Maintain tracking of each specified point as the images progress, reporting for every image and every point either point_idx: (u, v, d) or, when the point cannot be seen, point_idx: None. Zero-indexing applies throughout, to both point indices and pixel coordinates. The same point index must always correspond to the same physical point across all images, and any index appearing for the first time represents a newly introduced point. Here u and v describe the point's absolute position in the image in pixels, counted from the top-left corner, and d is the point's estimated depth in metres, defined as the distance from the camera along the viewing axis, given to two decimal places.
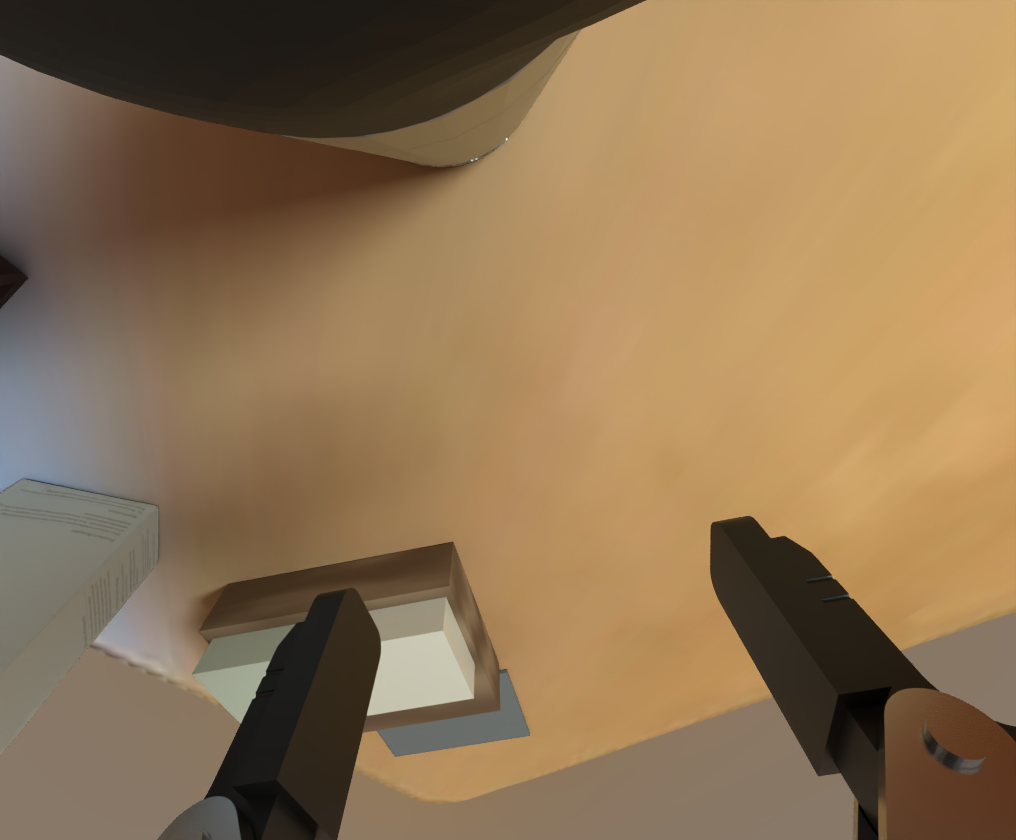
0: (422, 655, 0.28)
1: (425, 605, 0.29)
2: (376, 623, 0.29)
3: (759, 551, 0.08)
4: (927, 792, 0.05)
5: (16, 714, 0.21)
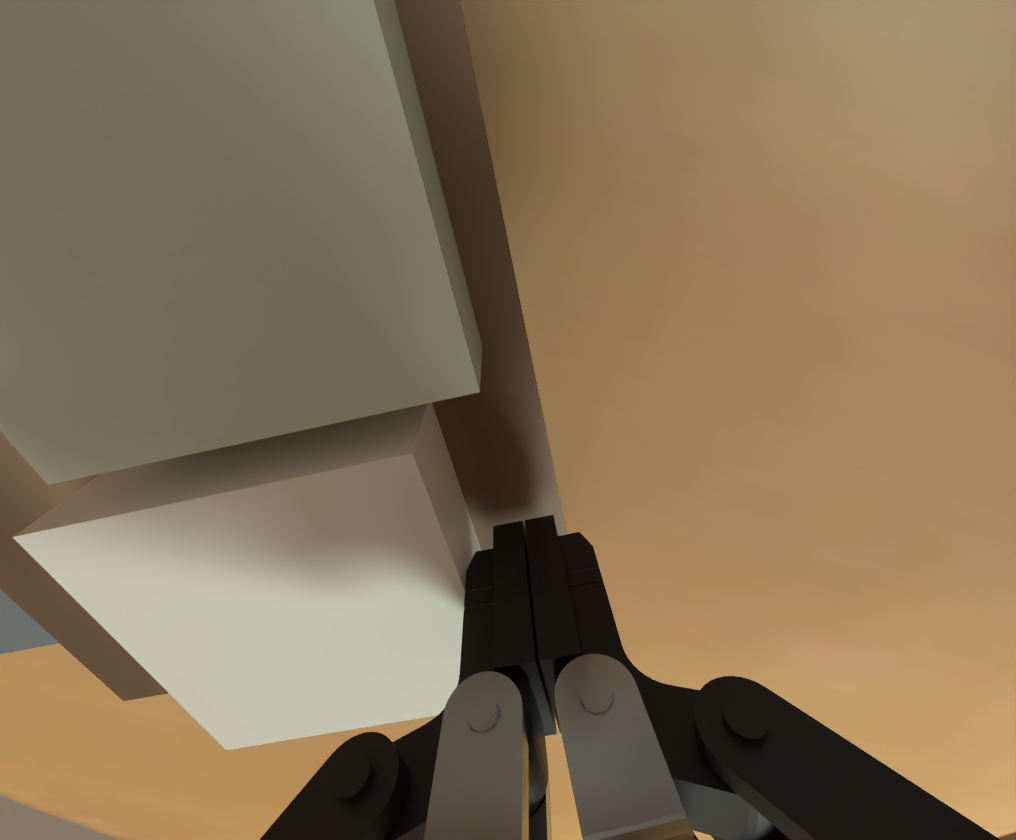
0: (407, 671, 0.11)
1: None
2: (464, 535, 0.10)
3: (543, 545, 0.09)
4: (592, 752, 0.06)
5: None
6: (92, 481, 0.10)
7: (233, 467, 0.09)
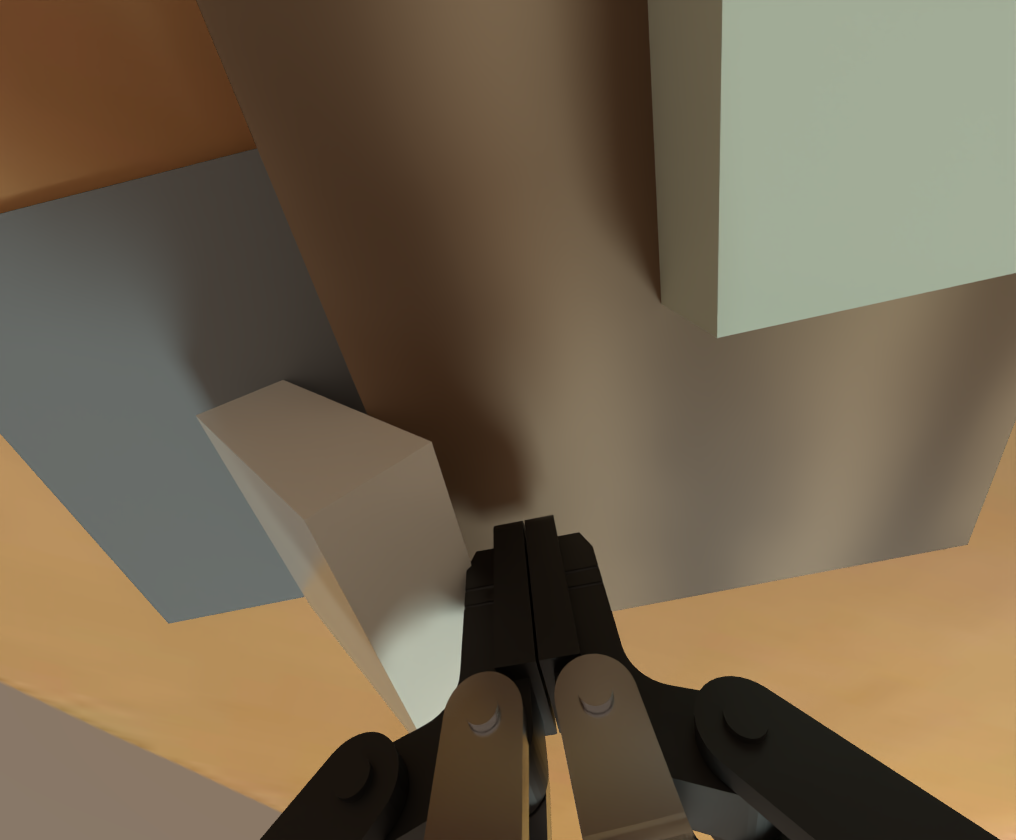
0: (369, 670, 0.11)
1: None
2: (432, 601, 0.09)
3: (543, 545, 0.09)
4: (591, 752, 0.06)
5: None
6: (260, 389, 0.13)
7: (278, 431, 0.10)
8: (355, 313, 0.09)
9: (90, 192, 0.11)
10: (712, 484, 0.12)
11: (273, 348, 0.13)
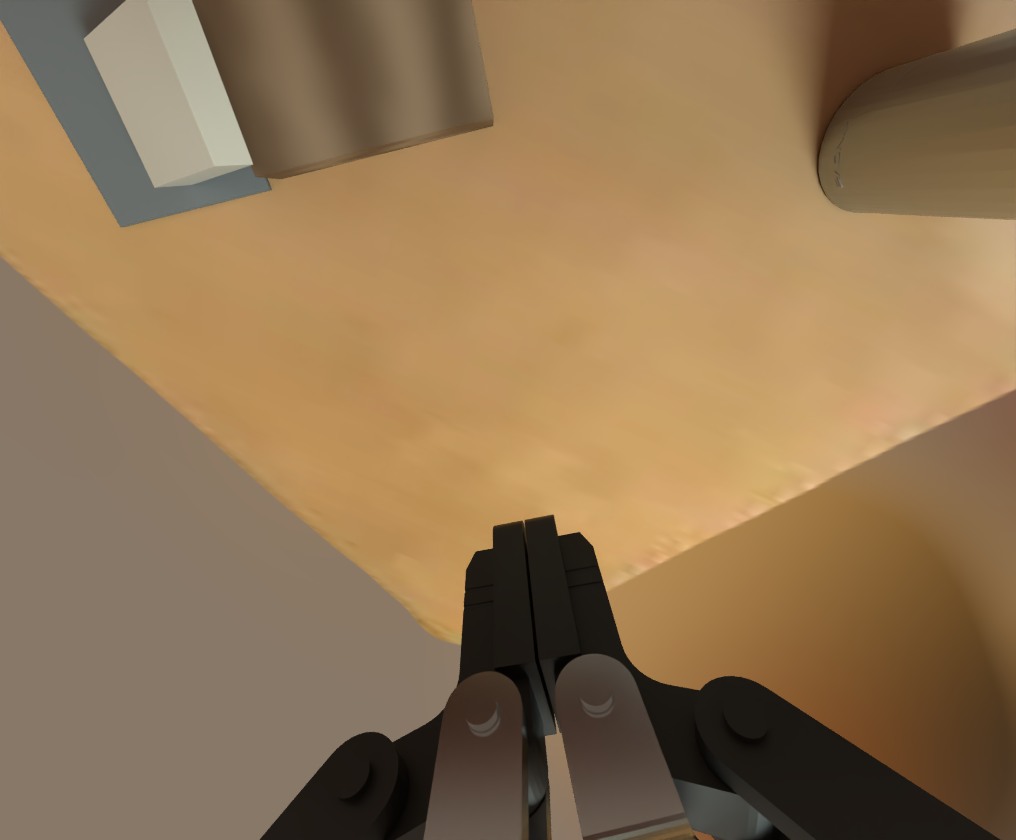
0: (180, 134, 0.26)
1: (237, 138, 0.27)
2: (199, 70, 0.25)
3: (543, 545, 0.09)
4: (592, 753, 0.06)
5: None
6: None
7: None
8: None
9: None
10: (349, 63, 0.26)
11: None
